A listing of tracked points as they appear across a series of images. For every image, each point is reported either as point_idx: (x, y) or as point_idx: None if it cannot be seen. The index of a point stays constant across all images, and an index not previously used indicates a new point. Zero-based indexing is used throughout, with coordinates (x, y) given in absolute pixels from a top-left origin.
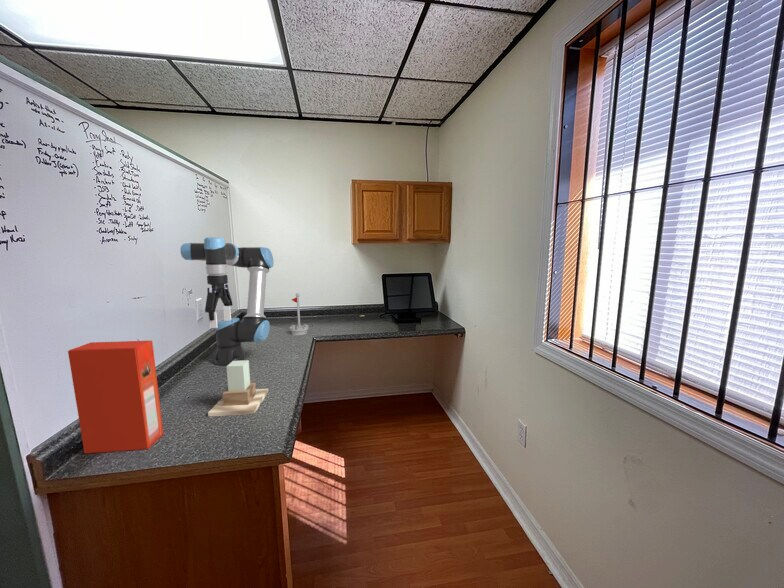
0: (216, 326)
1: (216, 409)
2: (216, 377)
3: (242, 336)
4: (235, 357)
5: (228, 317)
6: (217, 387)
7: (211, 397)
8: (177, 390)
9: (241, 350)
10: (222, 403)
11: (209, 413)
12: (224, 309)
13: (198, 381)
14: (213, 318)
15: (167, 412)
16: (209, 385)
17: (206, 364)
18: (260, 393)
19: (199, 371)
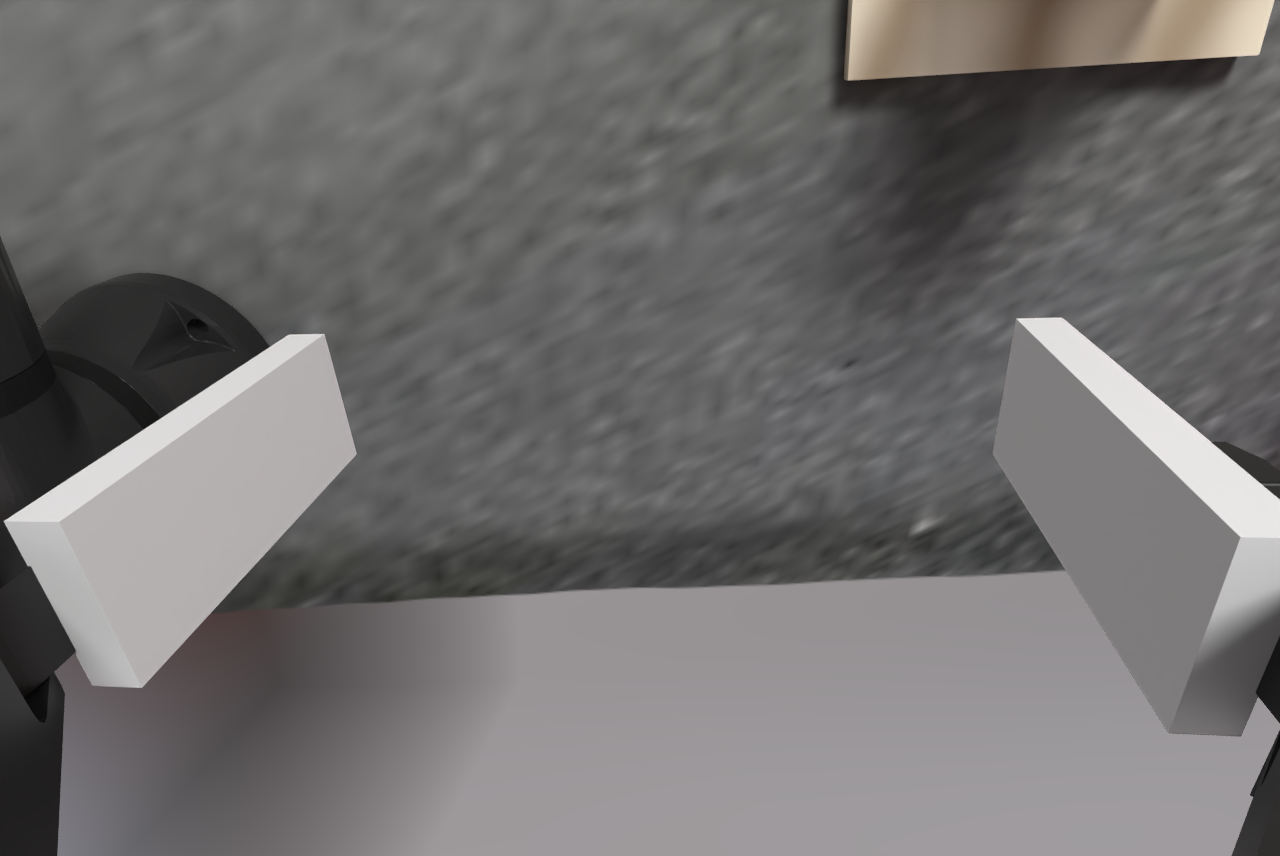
0: (1075, 332)
1: (1221, 7)
2: (515, 336)
3: (2, 319)
4: (185, 336)
5: (298, 400)
6: (702, 240)
7: (883, 199)
8: (726, 484)
9: (86, 319)
10: (1112, 9)
11: (1258, 42)
12: (193, 594)
13: (587, 427)
14: (1244, 467)
15: None
16: (661, 318)
17: None
18: None
19: (416, 500)
